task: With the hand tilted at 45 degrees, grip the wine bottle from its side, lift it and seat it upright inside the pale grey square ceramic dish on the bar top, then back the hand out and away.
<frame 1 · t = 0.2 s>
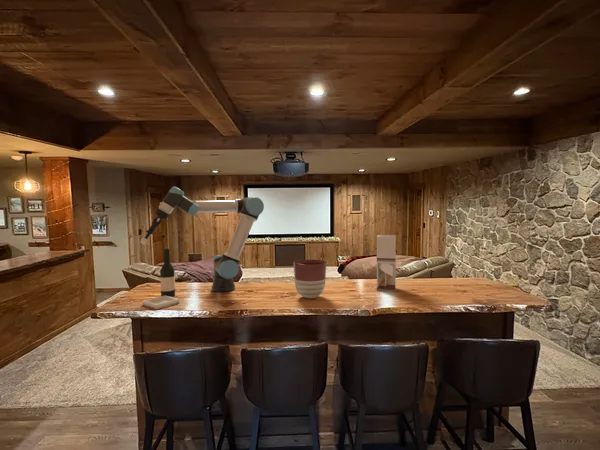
hand: (142, 242, 188), 35 cm above the table, tool tilted 35°, fingers open, 13 cm apart
wine bottle: (168, 296, 206), on the table
beige dispenser tower: (386, 289, 217), on the table
planter: (310, 297, 200), on the table
grey dish: (161, 304, 189), on the table
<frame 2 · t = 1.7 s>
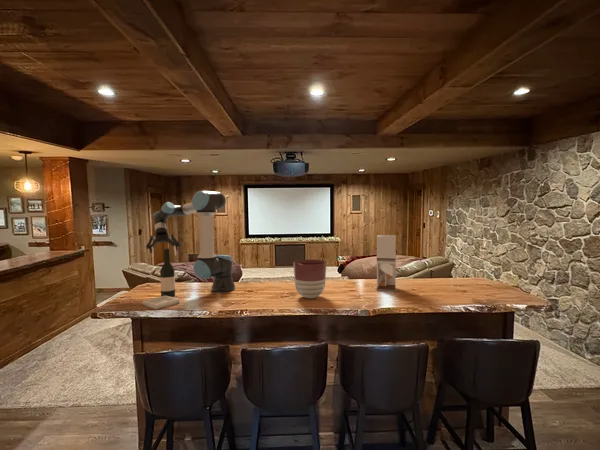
hand: (164, 255, 213), 24 cm above the table, tool tilted 45°, fingers open, 13 cm apart
nothing on the table moved.
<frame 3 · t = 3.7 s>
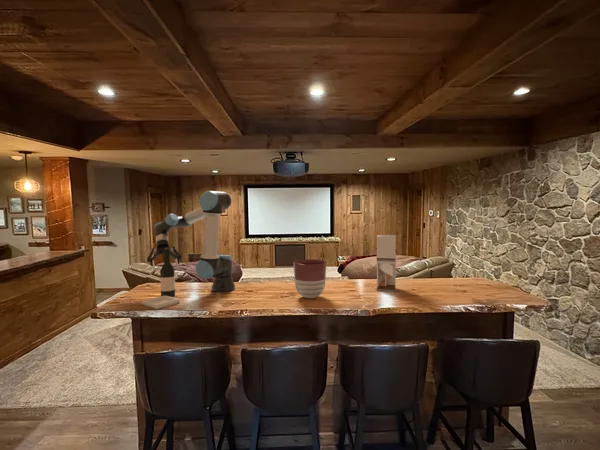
hand: (165, 269, 206), 17 cm above the table, tool tilted 45°, fingers open, 13 cm apart
nothing on the table moved.
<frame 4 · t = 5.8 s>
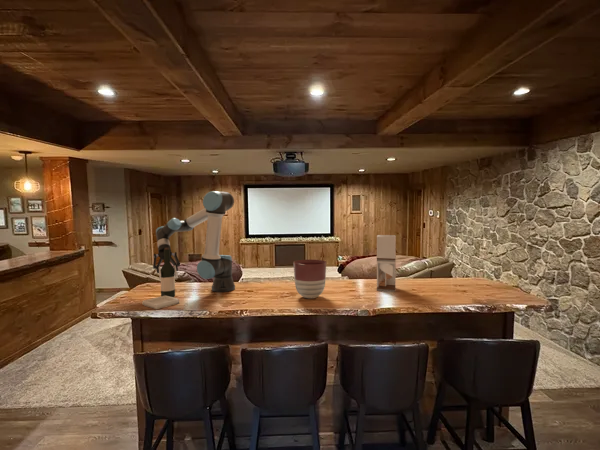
hand: (168, 276, 202), 13 cm above the table, tool tilted 45°, fingers closed on wine bottle, 8 cm apart
wine bottle: (168, 296, 206), on the table, touching gripper
everything else where it was.
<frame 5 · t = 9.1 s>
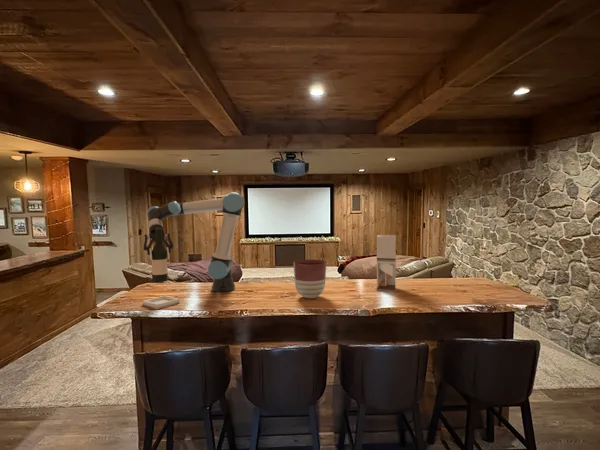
hand: (160, 258, 185), 27 cm above the table, tool tilted 45°, fingers closed on wine bottle, 8 cm apart
wine bottle: (160, 281, 188), point 13 cm above the table, touching gripper
everything else where it was.
when the fingers open (15 cm above the table, at t = 12.6 s): wine bottle drops 1 cm, resting on grey dish.
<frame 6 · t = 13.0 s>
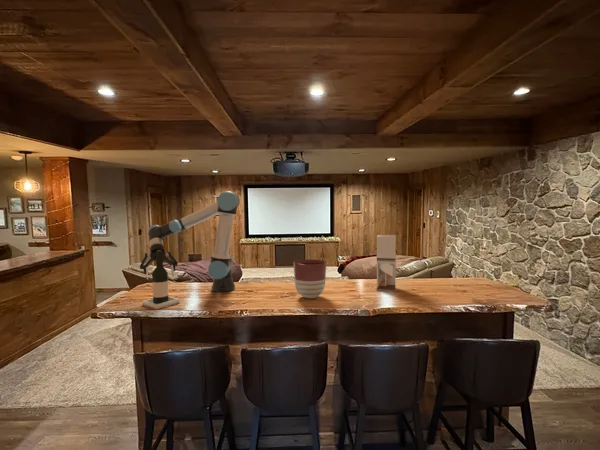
hand: (160, 276, 186), 16 cm above the table, tool tilted 45°, fingers open, 13 cm apart
wine bottle: (161, 303, 189), point 1 cm above the table, touching grey dish
everything else where it was.
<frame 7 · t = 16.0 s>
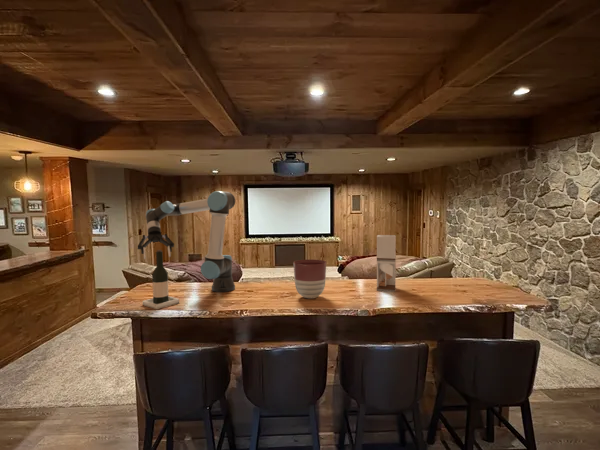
hand: (157, 256, 196), 26 cm above the table, tool tilted 45°, fingers open, 13 cm apart
nothing on the table moved.
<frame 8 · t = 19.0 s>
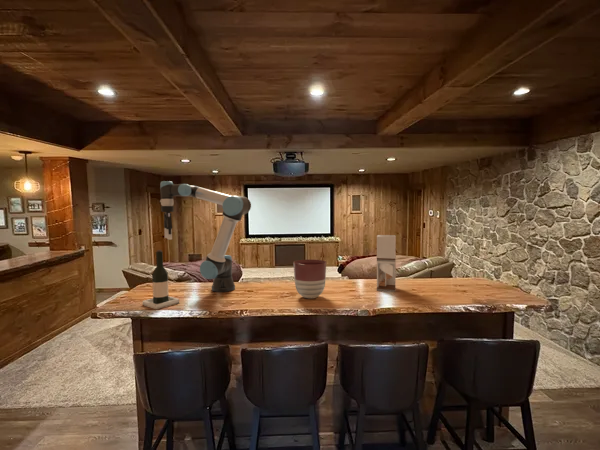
hand: (168, 238, 215), 35 cm above the table, tool pointing down, fingers open, 13 cm apart
nothing on the table moved.
at the end: wine bottle 0.1 cm off-centre on the grey dish, point 0.6 cm above the grey dish's base; wine bottle tilted 0°; the gripper is holding nothing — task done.
